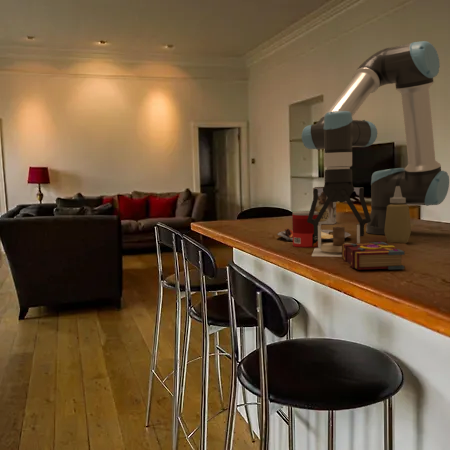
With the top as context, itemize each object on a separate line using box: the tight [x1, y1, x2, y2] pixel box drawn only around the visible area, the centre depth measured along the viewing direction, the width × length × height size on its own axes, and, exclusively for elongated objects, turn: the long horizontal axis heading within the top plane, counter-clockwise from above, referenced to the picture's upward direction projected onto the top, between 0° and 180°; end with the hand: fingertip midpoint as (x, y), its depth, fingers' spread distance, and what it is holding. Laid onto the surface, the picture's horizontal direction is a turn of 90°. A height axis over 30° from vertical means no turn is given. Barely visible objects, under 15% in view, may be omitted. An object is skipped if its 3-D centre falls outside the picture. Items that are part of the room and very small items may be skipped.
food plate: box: [276, 228, 352, 243], centre depth 176 cm, size 25×23×4 cm
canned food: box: [292, 210, 319, 249], centre depth 156 cm, size 8×8×11 cm
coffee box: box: [312, 186, 337, 225], centre depth 222 cm, size 9×6×16 cm
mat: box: [311, 247, 342, 258], centre depth 143 cm, size 14×14×1 cm
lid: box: [321, 226, 354, 252], centre depth 143 cm, size 10×10×6 cm
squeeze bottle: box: [384, 186, 412, 244], centre depth 160 cm, size 8×8×18 cm
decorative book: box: [341, 241, 405, 271], centre depth 126 cm, size 11×16×5 cm
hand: (338, 247), depth 143 cm, fingers closed on lid, 10 cm apart
